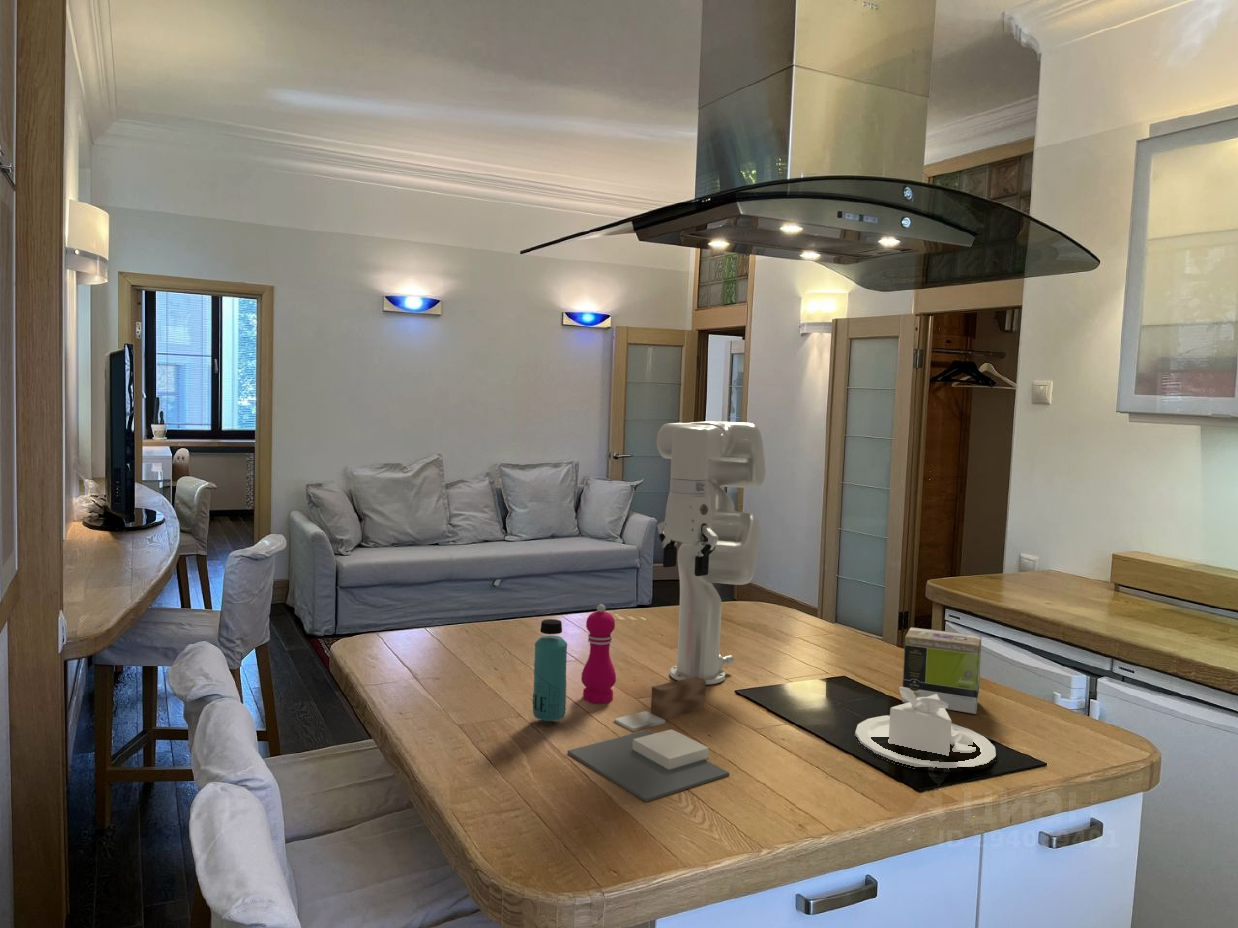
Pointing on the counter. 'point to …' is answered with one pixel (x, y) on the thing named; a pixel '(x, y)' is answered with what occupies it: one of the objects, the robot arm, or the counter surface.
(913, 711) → the dish
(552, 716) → the beverage bottle
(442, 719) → the counter surface
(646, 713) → the wooden handled spatula
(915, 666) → the tea box
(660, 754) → the tile
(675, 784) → the tile mat
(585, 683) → the pepper mill
